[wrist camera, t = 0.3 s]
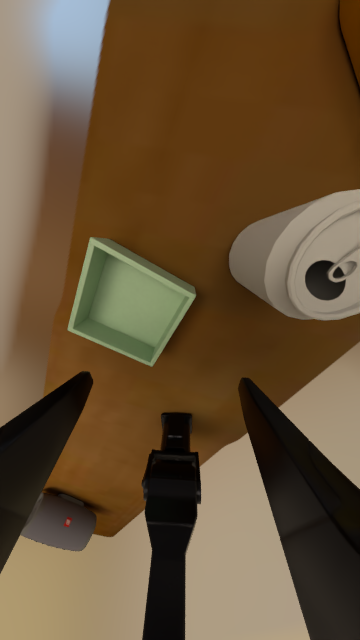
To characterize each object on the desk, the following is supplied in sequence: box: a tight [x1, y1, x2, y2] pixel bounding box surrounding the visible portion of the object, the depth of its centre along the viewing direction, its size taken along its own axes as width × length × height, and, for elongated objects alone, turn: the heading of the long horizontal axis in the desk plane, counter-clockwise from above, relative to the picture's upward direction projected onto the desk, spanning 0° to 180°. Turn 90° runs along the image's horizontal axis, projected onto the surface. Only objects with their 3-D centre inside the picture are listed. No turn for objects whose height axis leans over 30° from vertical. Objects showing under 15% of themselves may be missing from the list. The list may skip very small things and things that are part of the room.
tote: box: [68, 237, 196, 367], centre depth 20 cm, size 12×12×4 cm
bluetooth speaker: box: [20, 493, 96, 551], centre depth 53 cm, size 23×9×10 cm, turn 36°
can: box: [229, 189, 360, 321], centre depth 13 cm, size 8×8×12 cm
